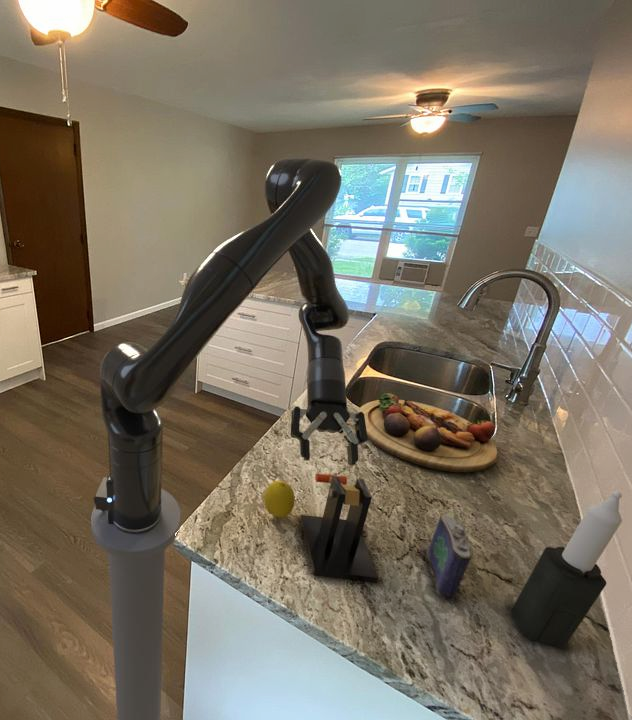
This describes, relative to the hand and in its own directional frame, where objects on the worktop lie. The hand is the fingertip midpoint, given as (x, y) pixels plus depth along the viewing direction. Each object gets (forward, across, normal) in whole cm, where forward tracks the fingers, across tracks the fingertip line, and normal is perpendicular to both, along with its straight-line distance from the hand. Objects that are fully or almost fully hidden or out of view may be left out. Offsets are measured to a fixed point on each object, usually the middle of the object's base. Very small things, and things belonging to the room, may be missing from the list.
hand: (329, 462), depth 75 cm
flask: (+17, +16, -3) cm, 24 cm away
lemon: (+11, -10, +3) cm, 15 cm away
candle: (+22, +26, -8) cm, 35 cm away
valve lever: (+6, 0, -5) cm, 8 cm away
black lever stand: (+15, 0, -1) cm, 15 cm away
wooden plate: (-14, +32, +28) cm, 45 cm away
